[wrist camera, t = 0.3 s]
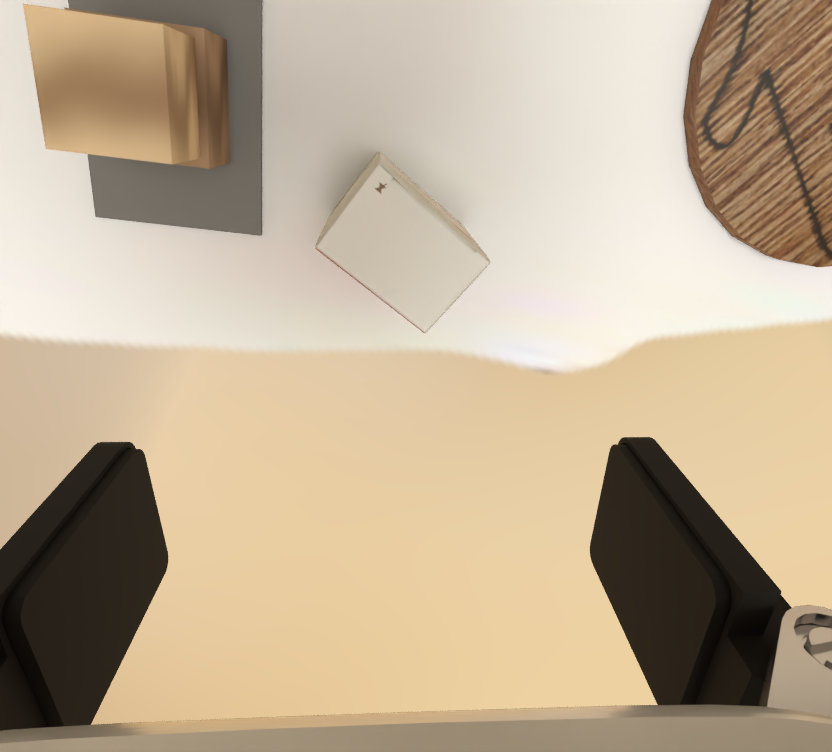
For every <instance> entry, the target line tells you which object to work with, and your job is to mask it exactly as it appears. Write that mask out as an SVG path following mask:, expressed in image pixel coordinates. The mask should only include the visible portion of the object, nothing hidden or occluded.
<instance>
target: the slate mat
mask: <svg viewBox="0 0 832 752" xmlns="http://www.w3.org/2000/svg"><path fill="white" fill-rule="evenodd" d="M68 3H69V8H70V9H77V10H83V11H90V12H97V13H104V14H110V15H117V16H124V17H131V18H137V19H144V20H151V21H158V22H164V23H171V24H178V25H185V26H191V27H198V28H204V29H206V30H208V31H210V32H212V33H214V34H216V35H218V36H220V37H222V38H224V39H226V40H227V62H228V106H229V150H230V163H229V164H225V165H221V166H218V167H214V168H211V169H207V168H199V167H191V166H182V165H174V164H165V163H157V162H149V161H141V160H133V159H124V158H116V157H108V156H100V155H92V154H88V160H89V168H90V176H91V184H92V192H93V200H94V208H95V216H96V217H102V218H111V219H119V220H128V221H137V222H146V223H155V224H164V225H172V226H181V227H190V228H199V229H208V230H216V231H225V232H234V233H243V234H252V235H260V236H261V235H262V0H68Z"/></svg>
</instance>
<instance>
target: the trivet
mask: <svg viewBox="0 0 832 752" xmlns="http://www.w3.org/2000/svg"><path fill="white" fill-rule="evenodd" d="M683 117H684V125H685V134H686V143H687V152H688V161H689V167H690V169H691V172H692V174H693V176H694V179H695V181H696V184H697V186H698V189H699V191H700V193H701V196H702V198H703V201H704V203H705V205H706V207H707V208H708V209H709V210H710V211H711V213H712V214H713V215H714V216H715V217H716V218H717V219H718V221H719V222H720V223H721V224H722V225H723V226H724V227H725V229H726V230H727V231H728V232H729V233H730V234H731V236H733V237H735V238H737V239H738V240H740V241H742V242H744V243H745V244H747V245H749V246H751V247H752V248H754V249H756V250H758V251H760V252H761V253H763V254H765V255H768V256H770V257H773V258H776V259H779V260H784V261H789V262H794V263H799V264H805V265H810V266H815V267H827V266H832V0H712V1H711V4H710V7H709V10H708V13H707V15H706V18H705V21H704V24H703V27H702V30H701V32H700V35H699V38H698V41H697V44H696V47H695V49H694V52H693V55H692V58H691V62H690V70H689V78H688V85H687V93H686V101H685V108H684V116H683Z"/></svg>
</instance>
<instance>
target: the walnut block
mask: <svg viewBox="0 0 832 752" xmlns="http://www.w3.org/2000/svg"><path fill="white" fill-rule="evenodd" d="M65 10H69V11H76V12H82V13H89V14H96V15H103V16H110V17H116V18H123V19H130V20H137V21H143V22H150V23H157V24H163V25H165V26H168V27H170V28H172V29H175V30H177V31H180V32H182V33H184V34H187V35H189V36H191V37H194V38H195V55H196V77H197V100H198V122H199V145H200V159H196V160H191V161H186V162H181V163H176V164H174V165H182V166H191V167H199V168H207V169H211V168H214V167H218V166H221V165H225V164H229V163H230V150H229V106H228V62H227V40H226V39H224V38H222V37H220V36H218V35H216V34H214V33H212V32H210V31H208V30H206V29H204V28H198V27H191V26H185V25H178V24H171V23H164V22H158V21H151V20H144V19H137V18H131V17H124V16H117V15H110V14H104V13H97V12H90V11H83V10H77V9H70V8H65Z"/></svg>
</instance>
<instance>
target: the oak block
mask: <svg viewBox="0 0 832 752" xmlns="http://www.w3.org/2000/svg"><path fill="white" fill-rule="evenodd" d="M23 6H24V12H25V18H26V25H27V31H28V38H29V44H30V50H31V57H32V63H33V69H34V76H35V82H36V89H37V95H38V101H39V108H40V114H41V120H42V127H43V133H44V140H45V146H46V149H52V150H60V151H68V152H76V153H84V154H92V155H100V156H108V157H116V158H124V159H133V160H141V161H149V162H157V163H165V164H176V163H181V162H186V161H191V160H196V159H200V145H199V122H198V100H197V77H196V55H195V38H194V37H191V36H189V35H187V34H184V33H182V32H180V31H177V30H175V29H172V28H170V27H168V26H165V25H163V24H157V23H150V22H143V21H137V20H130V19H123V18H116V17H110V16H103V15H96V14H89V13H82V12H76V11H69V10H62V9H55V8H49V7H42V6H35V5H28V4H23Z"/></svg>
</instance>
